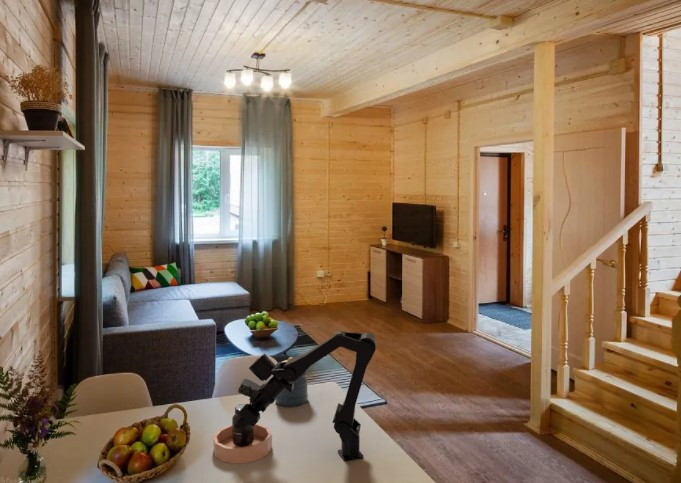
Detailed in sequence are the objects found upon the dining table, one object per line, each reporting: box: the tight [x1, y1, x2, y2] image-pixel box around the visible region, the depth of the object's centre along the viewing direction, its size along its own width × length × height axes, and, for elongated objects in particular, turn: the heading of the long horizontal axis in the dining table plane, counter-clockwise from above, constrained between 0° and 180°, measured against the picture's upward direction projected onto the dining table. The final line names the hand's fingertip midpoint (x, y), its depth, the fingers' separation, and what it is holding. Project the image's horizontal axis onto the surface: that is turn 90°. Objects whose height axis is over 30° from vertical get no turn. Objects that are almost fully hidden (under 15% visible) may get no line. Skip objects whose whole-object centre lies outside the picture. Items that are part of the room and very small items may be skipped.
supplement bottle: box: [231, 403, 254, 447], centre depth 172 cm, size 7×7×12 cm
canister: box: [275, 356, 309, 408], centre depth 210 cm, size 13×13×18 cm
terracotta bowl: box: [212, 423, 273, 464], centre depth 172 cm, size 18×18×4 cm
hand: (238, 422), depth 172 cm, fingers closed on supplement bottle, 7 cm apart
